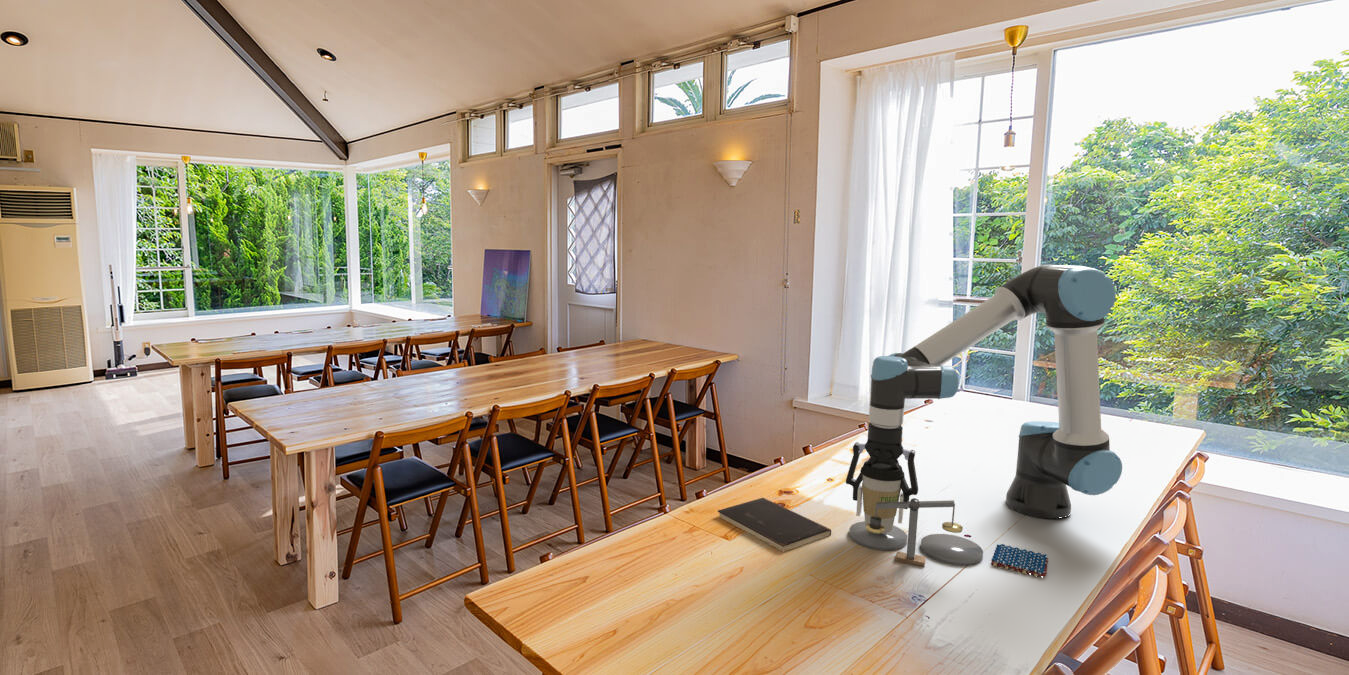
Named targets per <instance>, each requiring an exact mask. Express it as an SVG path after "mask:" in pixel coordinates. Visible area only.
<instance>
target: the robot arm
mask: <svg viewBox="0 0 1349 675" xmlns="http://www.w3.org/2000/svg"><path fill="white" fill-rule="evenodd" d="M1115 288H1116V287H1115V285H1114V283H1113V281H1112V279H1111V277H1109V276H1108V274H1105V272H1103V271H1102V270H1099V269H1097V268H1093V267H1088V266H1083V265H1064V264H1063V265H1062V264H1061V265H1060V264H1059V265H1058V264H1043V265H1038V266H1035V267H1033V268H1031V269H1029V270H1027V271H1025V272H1023V273H1020V274H1018V275H1016V276H1015V277H1014V278H1012V279H1010V280H1009V281H1007V282H1004V283H1003V284H1002V285H1001V286H999V287H997V288H996V289H995V291H994V292H995V293H994V295H992V296H991V297H990V298H988V299H986V300H985V301H983V302H981V303H980V304H979V305H976V306H975V307H973V308H972V309H971V310H970V311H968V312H965V313H964V314H963V315H961V316H960V317H958V318H957V319H955V320H954V321H952V322H951V323H948V324H947V325H946V326H945V327H942V328H941V329H940V330H938V331H936V332H934V333H933V334H932V335H930V336H929V337H926V339H923V340H922V341H921V342H919V343H918V344H916V345H914V346H913V347H911V348H910V349H908V350H907V351H905V352H903V353H902V352H895V353H891V354H889V355H880V356H877V357H875V358H874V359H873V361H872V366H871V367H872V368H871V374H870V379H871V380H870V381H871V382H870V400H869V408H868V409H869V410H868V411H869V412H868V421H869V423H868V427H867V428H868V429H867V430H868V431H867V440H866V442H865V443H860V442H858V441H857V442H855V443H854V445H852V452H853V454H852V458H851V462H850V465H849V467H848V472H847V475H846V479H845V484H846V485H850V486H852V500H853V501H856V511H855V512H856V514H855V515H856V516H857V517H860V516H861V514H862V507H863V491H862V482H863V475H862V474H861V472H860V473H859V474H858V476H857V477H856V479H855V478H854V475H855V471H856V468H857V465H858V462H859V459H860V455H861V454H863V451H864V450H866V452H867V454H868V456H869V458H868V460H866V461H867V463H866V465H869V466H870V467H871V466H872V465H873V463H874V462H876V463H883V464H886V465H891V467H892V469H893V470H895V469H897V470H899V468H900V466H901V465H900V462H899V460H898V459H899V458H900V457H901V456H902V455H903V456H904V460H905V461H907V468H908V475H909V482H910V487H909V484H908V483H907V480H906V478H905V477H904V478H903V479H902V480H901V483H900V487H901V492H900V497H899V502H910V497H911V496H916V495H918V493H919V483H918V478H917V472H916V471H917V470H916V466H915V457H916V456H915V455H916V450H914V449H911V450H909V449H905V448H904V447H903V444H902V443H903V442H902V441H903V429H904V428H903V426H902V425H903V424H904V415H905V414H904V413H905V401H906V400H910V399H925V400H926V399H927V400H928V399H929V400H930V399H931V400H935V399H936V400H942V399H951V398H953V397H954V396H955V395H956V394H957V392H958V391H959V390H958V389H959V385H960V383H959V382H960V380H959V374H958V373H957V371H956V369H955V368H954V367H952V366H950V365H945V364H946V363H947V362H949V361H951V360H953V359H954V358H955V357H957V356H959V355H961V354H962V353H963V352H965V351H967V350H968V349H970V348H971V347H973V346H974V345H976V344H977V343H979V342H981V341H982V340H984V339H985V338H987V337H990V335H992V334H993V333H995V332H997V331H999V330H1000V329H1002V328H1003V327H1005V326H1006V325H1008V324H1009V323H1011V322H1013V321H1014V320H1016V321H1023V319H1025V318H1027V317H1028V316H1031V315H1034V314H1038V313H1045V326H1046V327H1047V328H1048V329H1049V330H1051V332H1053V335H1054V352H1055V372H1056V373H1055V374H1056V390H1057V392H1056V393H1057V408H1058V409H1057V410H1058V422H1055V421H1039V420H1038V421H1037V420H1036V421H1026V422H1024V423H1023V424H1021V426H1020V430H1019V435H1018V449H1017V460H1016V470H1015V476H1014V478H1013V480H1012V481H1011V485H1009V488H1008V490H1007V492H1006V496H1005V503H1006V505H1007V506H1008V507H1009V508H1010V509H1012V510H1014V511H1016V512H1017V513H1018V512H1019V513H1021V514H1023V513H1024V515H1027V516H1031V517H1034V516H1035V517H1036V518H1040V517H1042V518H1041V519H1047V518H1059V517H1065V516H1068V515H1069V514H1070V513H1071V512H1072V504H1071V503H1072V502H1071V500H1070V494H1069V491H1068V487H1069V488H1071V489H1072V490H1073V491H1076V492H1080V493H1081V494H1085V495H1088V496H1098V495H1103V494H1104V493H1107V492H1108V491H1111V489H1113V487H1114V486H1115V485H1116V484H1117V483H1118V482H1119V481H1120V478H1121V476H1122V473H1123V462H1122V460H1121V458H1120V457H1119V455H1117V454H1116V453H1115V452H1114V451H1111V450H1110V445H1111V444H1110V436H1109V434H1108V433H1107V432H1106V431H1105V430H1103V429H1102V419H1101V416H1102V415H1101V395H1100V392H1101V391H1100V374H1099V373H1100V372H1099V352H1098V350H1099V349H1098V330H1099V329H1100V328H1102V327H1103V326H1104V324H1105V317H1106V316H1108V315H1109V314H1110V312H1111V311H1112V310H1111V308H1113V307H1114V306H1115V303H1116V295H1117V294H1116V289H1115ZM899 465H900V466H899ZM908 509H909V508H898V519H897V520H898V521H897V523H898V524H902V523H903V519H904V510H908ZM1070 515H1071V514H1070ZM1070 515H1069V516H1070ZM1069 516H1068V517H1069Z"/></svg>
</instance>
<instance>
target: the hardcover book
mask: <svg viewBox="0 0 1349 675" xmlns="http://www.w3.org/2000/svg"><path fill="white" fill-rule="evenodd" d="M717 512H718V513H719V518H720V517H721V518H720V519H722V520H724V521H726V522H727V523H729V522H730V523H729V524H731V523H732V525H733V526H735V527H737V528H739V529H740V528H741V530H742V529H743V530H742V531H744V530H745V531H744V532H746V531H747V532H746V533H748V532H749V533H751V534H753V535H755V536H756V537H755V536H754V537H755V538H757V537H758V538H757V539H759V538H760V539H762V540H764V541H766V542H768V543H769V544H768V543H767V544H768V545H770V544H771V545H773V546H775V547H776V548H775V547H774V548H775V549H777V548H778V549H777V550H779V549H780V550H779V551H781V550H782V551H784V552H786V551H785V550H787V551H790V550H792V548H793V549H795V548H797V547H798V548H799V547H800V546H805V545H807V544H809V543H812V542H815V541H817V540H820V539H823V538H826V537H829V536H832V530H831V528H829V527H827V526H825V525H823V524H820V523H818V522H816V521H814V520H811V519H810V518H807V517H805V516H804V515H801V514H799V513H797V512H795V511H793V510H790V509H789V508H787V507H784V506H782V505H780V504H778V503H777V502H776V503H775V502H773V501H771V500H769V499H768V498H764V497H761V498H757V499H753V500H750V501H747V502H743V503H740V504H735V505H732V506H728V507H725V508H722V509H718V510H717ZM749 533H748V534H749ZM751 534H750V535H751ZM753 535H752V536H753ZM760 539H759V540H760ZM762 540H761V541H762ZM764 541H763V542H764ZM766 542H765V543H766ZM771 545H770V546H771ZM773 546H772V547H773ZM789 549H790V550H789ZM782 551H781V552H782Z"/></svg>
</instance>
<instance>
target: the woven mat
mask: <svg viewBox="0 0 1349 675" xmlns="http://www.w3.org/2000/svg"><path fill="white" fill-rule="evenodd" d="M1047 556H1048V555H1047V554H1043V553H1041V552H1036V551H1033V550H1029V549H1028V550H1027V549H1025V548H1023V549H1021V548H1019V547H1017V546H1016V547H1015V546H1011V545H1006V544H1004V543H1002V544H1001V543H1000V544H996V547H995V549H994V552H993V555H992V558H991V562H990V564H991V565H992V566H993V567H999V568H1000V569H1003V568H1004V567H1005V568H1004V569H1005V570H1007V571H1008V570H1009V568H1010V571H1011V570H1012V572H1014V571H1016V573H1017V572H1019V573H1018V574H1020V573H1022V574H1023V575H1028V574H1029V573H1032V574H1031V575H1034V577H1035V576H1044V577H1046V575H1047V574H1048V573H1047V571H1048V566H1047V564H1048V562H1049V558H1048V557H1047ZM1026 573H1027V574H1026Z"/></svg>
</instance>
